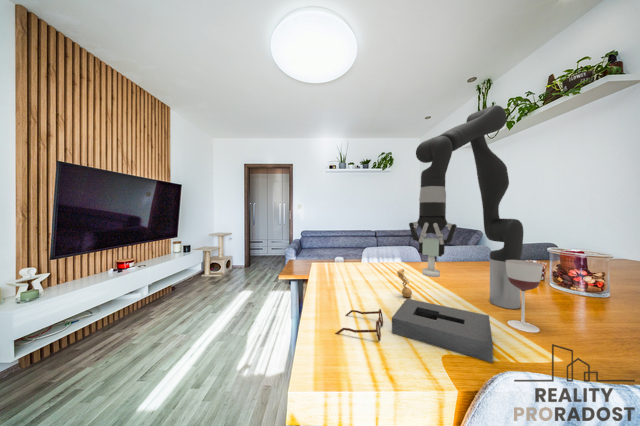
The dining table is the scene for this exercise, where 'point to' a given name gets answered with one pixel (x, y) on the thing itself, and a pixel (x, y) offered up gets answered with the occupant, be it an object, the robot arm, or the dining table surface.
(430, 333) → the keyhole plate
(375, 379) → the dining table surface
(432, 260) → the keyhole peg
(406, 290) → the figurine
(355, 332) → the glasses
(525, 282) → the wineglass
